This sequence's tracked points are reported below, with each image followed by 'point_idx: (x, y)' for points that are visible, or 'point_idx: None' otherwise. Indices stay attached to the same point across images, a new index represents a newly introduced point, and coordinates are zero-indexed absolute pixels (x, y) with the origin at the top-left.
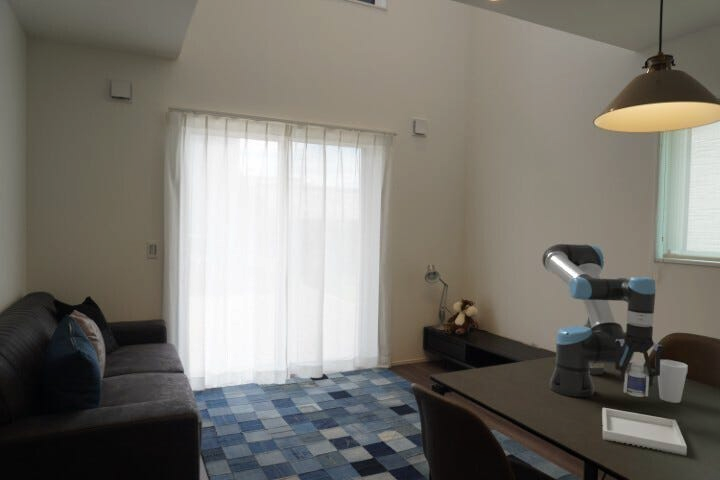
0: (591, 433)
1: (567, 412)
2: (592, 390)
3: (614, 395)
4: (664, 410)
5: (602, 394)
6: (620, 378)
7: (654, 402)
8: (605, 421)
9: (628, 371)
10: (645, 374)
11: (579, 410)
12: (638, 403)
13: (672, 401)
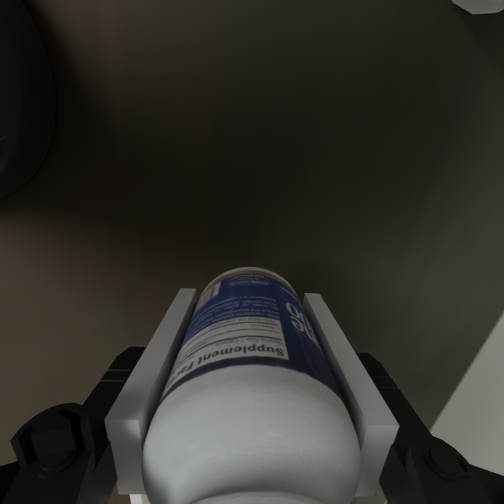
0: (118, 495)
1: (19, 392)
2: (26, 128)
3: (167, 47)
4: (384, 196)
5: (101, 65)
6: (115, 365)
7: (373, 75)
8: (137, 496)
9: (146, 494)
10: (350, 500)
11: (50, 357)
12: (282, 143)
13: (490, 10)
